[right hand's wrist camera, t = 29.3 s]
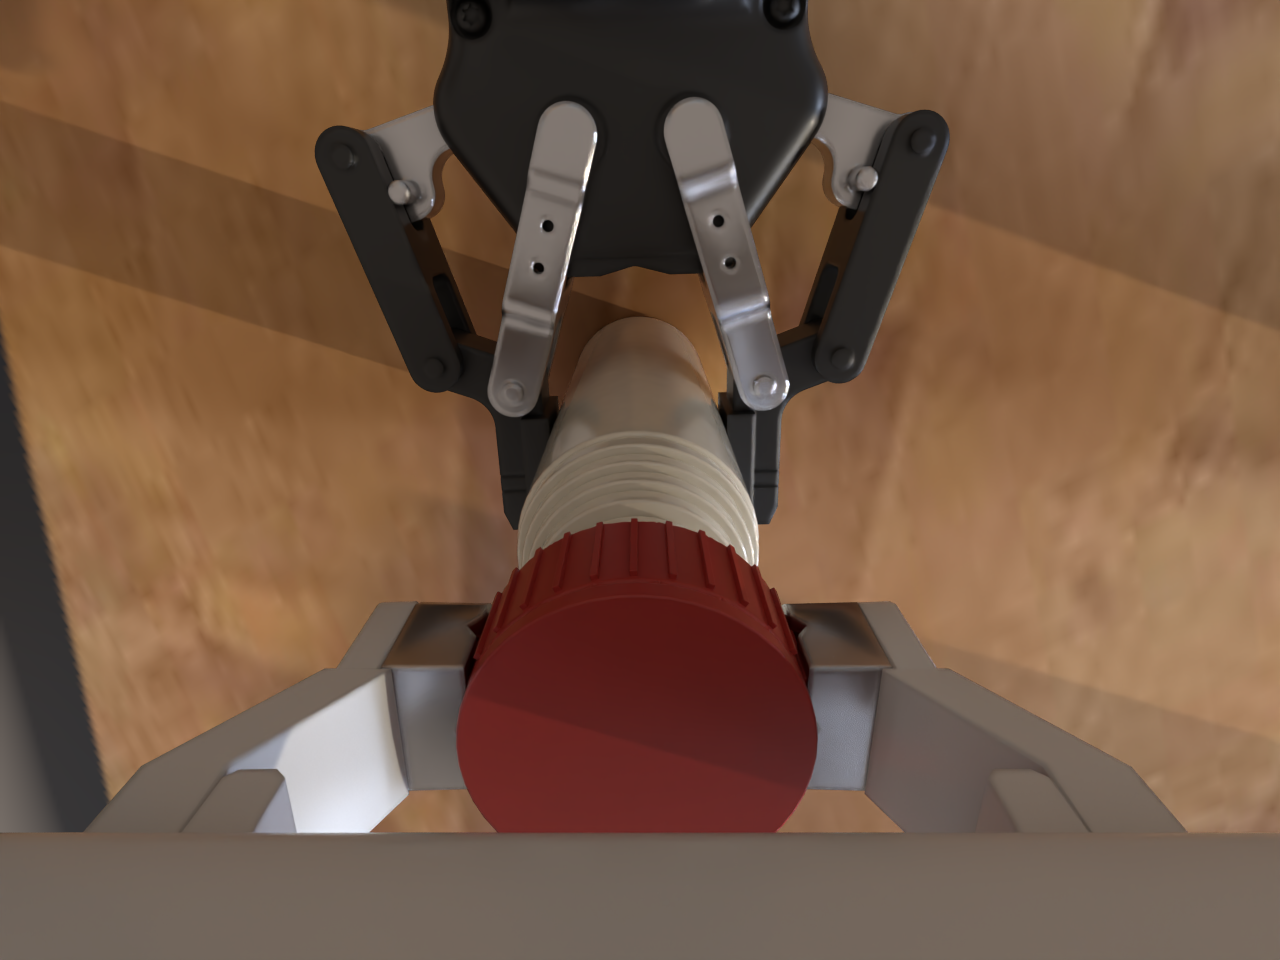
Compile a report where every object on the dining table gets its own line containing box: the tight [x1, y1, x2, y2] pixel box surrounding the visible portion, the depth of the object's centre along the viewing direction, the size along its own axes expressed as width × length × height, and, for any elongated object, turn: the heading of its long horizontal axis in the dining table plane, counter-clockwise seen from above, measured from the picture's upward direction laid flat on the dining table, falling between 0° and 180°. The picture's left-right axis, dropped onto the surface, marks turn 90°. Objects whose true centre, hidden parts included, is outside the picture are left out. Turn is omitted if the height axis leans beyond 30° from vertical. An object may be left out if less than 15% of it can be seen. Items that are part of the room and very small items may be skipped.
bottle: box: [517, 317, 759, 570], centre depth 17 cm, size 4×4×17 cm
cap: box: [456, 518, 818, 833], centre depth 9 cm, size 4×4×2 cm
